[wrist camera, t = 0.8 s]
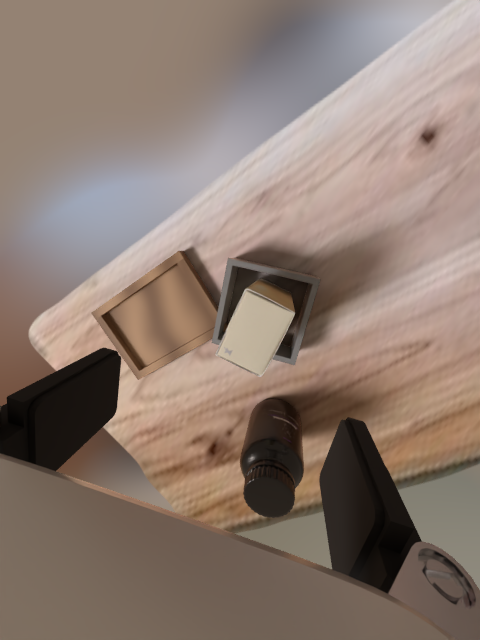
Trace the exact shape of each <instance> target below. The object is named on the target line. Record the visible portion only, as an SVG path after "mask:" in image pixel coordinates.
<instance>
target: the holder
mask: <svg viewBox="0 0 480 640" xmlns="http://www.w3.org/2000/svg"><path fill="white" fill-rule="evenodd" d="M238 267H242V268H246V269H251V270H255V271H259V272H264V273H268V274H272V275H276V276H281V277H285V278H289V279H294V280H298V281H302V282H307V283H308V287H307V290H306V293H305V297H304V300H303V304H302V307H301V311H300V314H299V318H298V321H297V324H296V328H295V331H294V335H293V338H292V342H291V345H290V346H287V345H283V344H280V346H279V348H278V350H277V351H276V353H275V355H274V357H273V359H274V360H277V361H281V362H285V363H288V364H292V365H295V362H296V359H297V356H298V352H299V349H300V346H301V343H302V339H303V336H304V333H305V329H306V326H307V323H308V319H309V316H310V313H311V309H312V306H313V303H314V300H315V296H316V293H317V290H318V286H319V283H320V280H321V279H319V278H318V277H316V276H313V275H309V274H304V273H300V272H296V271H291V270H287V269H283V268H278V267H274V266H269V265H265V264H261V263H256V262H252V261H248V260H243V259H239V258H228V261H227V266H226V271H225V276H224V282H223V287H222V292H221V297H220V302H219V307H218V313H217V318H216V323H215V328H214V333H213V338H212V343H214V344H218V345H220V343H221V341H222V338H223V336H224V334H225V332H226V331H224V332H223V330H224V325H225V323H226V322H227V319H228V315H229V310H230V305H231V300H232V295H233V291H234V286H235V281H236V276H237V271H238Z"/></svg>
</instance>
